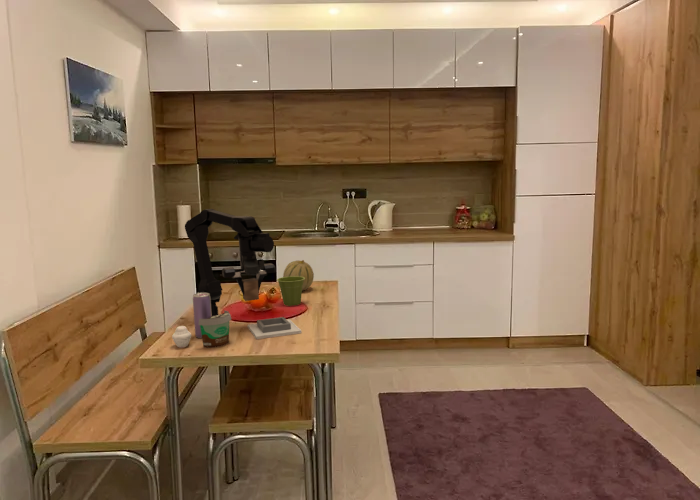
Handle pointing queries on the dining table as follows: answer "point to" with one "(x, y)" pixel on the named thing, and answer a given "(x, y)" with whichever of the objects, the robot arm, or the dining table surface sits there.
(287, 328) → the socket base
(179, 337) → the white lidded jar
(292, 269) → the cantaloupe
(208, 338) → the food container
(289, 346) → the dining table surface
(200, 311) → the beverage can
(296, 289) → the plant pot
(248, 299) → the walnut peg
